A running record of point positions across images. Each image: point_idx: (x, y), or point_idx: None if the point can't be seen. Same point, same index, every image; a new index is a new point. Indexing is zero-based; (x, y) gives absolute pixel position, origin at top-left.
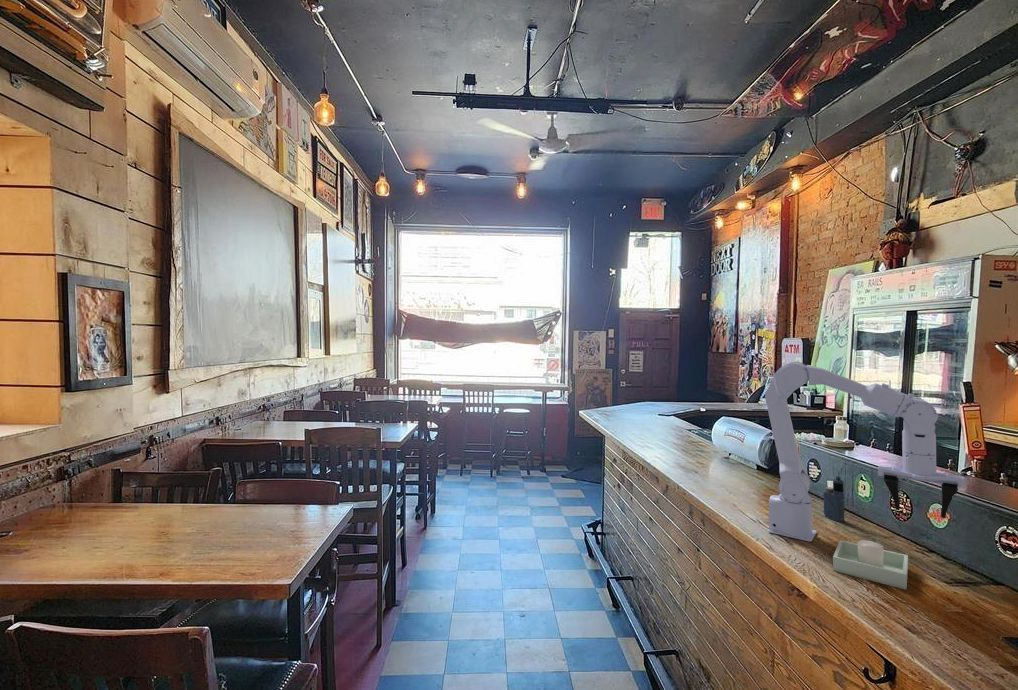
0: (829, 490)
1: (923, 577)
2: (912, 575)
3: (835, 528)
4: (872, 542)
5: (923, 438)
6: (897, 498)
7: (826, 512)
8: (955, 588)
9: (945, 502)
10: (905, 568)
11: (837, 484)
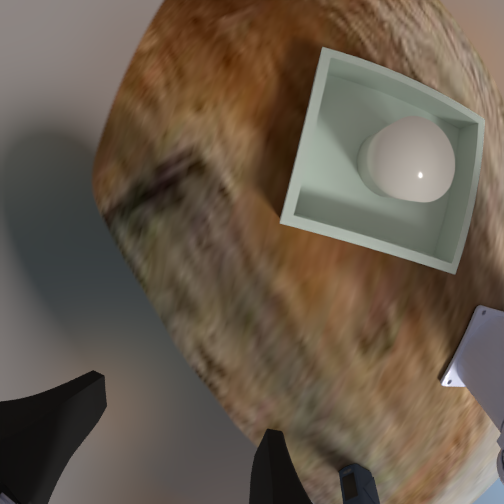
0: None
1: (251, 172)
2: (278, 173)
3: (379, 429)
4: (410, 187)
5: None
6: (275, 477)
7: (372, 479)
8: (189, 135)
9: (38, 405)
10: (316, 90)
11: None
